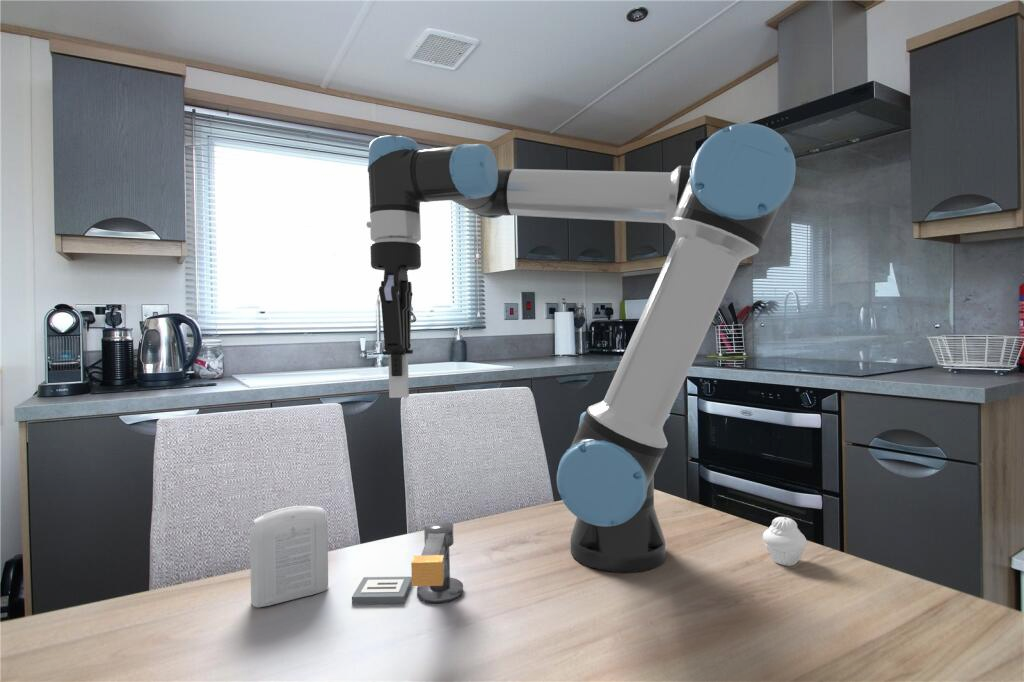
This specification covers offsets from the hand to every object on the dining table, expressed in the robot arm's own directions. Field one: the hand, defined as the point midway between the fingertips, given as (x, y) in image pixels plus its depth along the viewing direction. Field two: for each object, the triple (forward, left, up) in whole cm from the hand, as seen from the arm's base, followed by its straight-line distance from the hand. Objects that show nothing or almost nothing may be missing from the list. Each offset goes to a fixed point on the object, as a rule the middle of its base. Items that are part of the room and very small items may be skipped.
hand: (399, 396), depth 88 cm
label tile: (+1, +9, -26) cm, 28 cm away
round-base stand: (-7, +9, -26) cm, 29 cm away
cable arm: (-7, +14, -20) cm, 25 cm away
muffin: (-59, 0, -27) cm, 65 cm away
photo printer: (+14, +9, -27) cm, 31 cm away
